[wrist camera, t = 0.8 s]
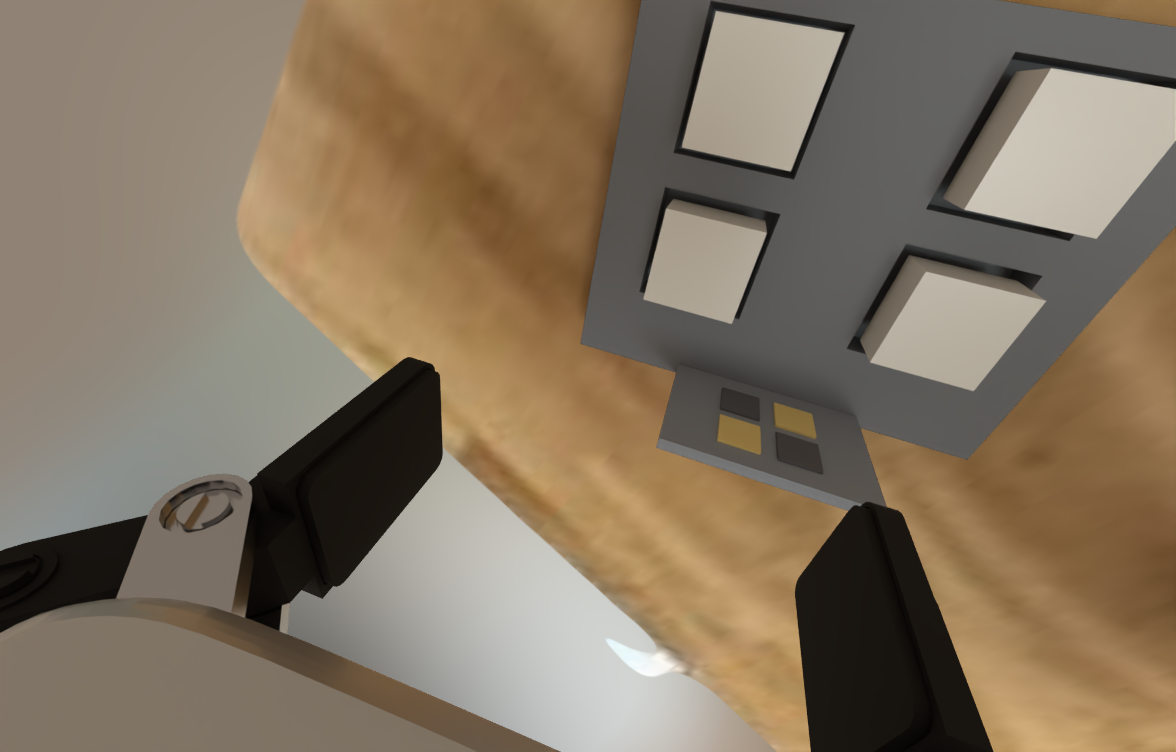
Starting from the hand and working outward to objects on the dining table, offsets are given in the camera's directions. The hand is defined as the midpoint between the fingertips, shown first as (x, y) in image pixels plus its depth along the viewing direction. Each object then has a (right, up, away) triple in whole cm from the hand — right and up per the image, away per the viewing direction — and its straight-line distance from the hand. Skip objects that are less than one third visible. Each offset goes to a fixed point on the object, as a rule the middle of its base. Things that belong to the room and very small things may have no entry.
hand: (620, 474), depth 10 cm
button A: (+17, +11, +7) cm, 21 cm away
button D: (+5, +8, +13) cm, 16 cm away
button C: (+16, +5, +11) cm, 20 cm away
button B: (+6, +14, +9) cm, 18 cm away
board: (+12, +10, +13) cm, 20 cm away
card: (+9, +1, +15) cm, 18 cm away
